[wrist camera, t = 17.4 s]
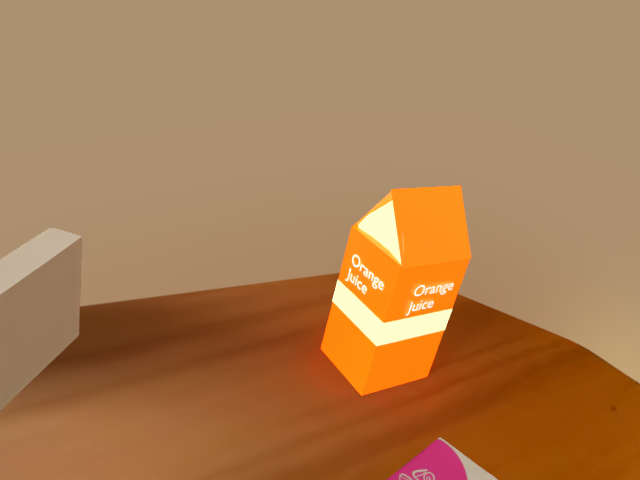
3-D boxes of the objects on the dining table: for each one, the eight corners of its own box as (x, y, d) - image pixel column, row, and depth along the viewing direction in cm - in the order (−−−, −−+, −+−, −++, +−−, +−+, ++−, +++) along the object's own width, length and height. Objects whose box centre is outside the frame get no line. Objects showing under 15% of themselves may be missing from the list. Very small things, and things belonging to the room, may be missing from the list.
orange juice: (319, 348, 64) (364, 171, 55) (384, 333, 69) (434, 169, 60) (362, 397, 58) (419, 209, 49) (429, 377, 63) (492, 203, 54)
